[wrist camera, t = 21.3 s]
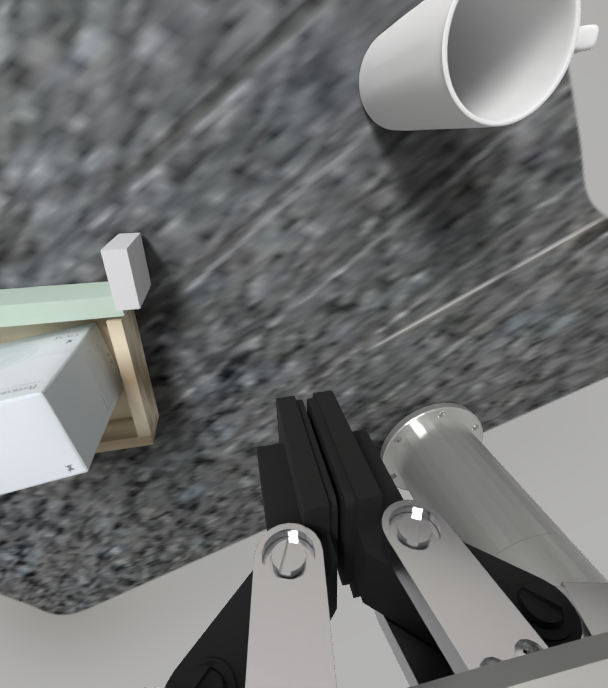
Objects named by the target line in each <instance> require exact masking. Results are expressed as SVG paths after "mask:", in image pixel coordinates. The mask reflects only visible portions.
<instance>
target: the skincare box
mask: <svg viewBox="0 0 608 688" xmlns="http://www.w3.org/2000/svg"><path fill="white" fill-rule="evenodd" d="M123 388H124V384H123V381H122V377H121V375H120V373H119V370H118V368H117V366H116V364H115V362H114V360H113V358H112V355H111V353H110V351H109V349H108V347H107V345H106V342H105V340H104V338H103V336H102V334H101V332H100V330H99V328H98V326H97V324H96V323H95V322H93V323H88V324H84V325H79V326H75V327H71V328H66V329H62V330H57V331H53V332H49V333H44V334H40V335H35V336H31V337H26V338H22V339H18V340H13V341H9V342H5V343H0V495H2V494H6V493H10V492H13V491H17V490H21V489H25V488H28V487H32V486H36V485H40V484H44V483H47V482H51V481H55V480H59V479H62V478H66V477H70V476H74V475H78V474H82V473H86V472H88V471H89V468H90V466H91V463H92V461H93V458H94V455H95V453H96V450H97V448H98V446H99V443H100V441H101V438H102V436H103V434H104V431H105V429H106V427H107V424H108V422H109V419H110V417H111V415H112V412H113V410H114V408H115V406H116V403H117V401H118V399H119V396H120V395H121V392H122V390H123Z"/></svg>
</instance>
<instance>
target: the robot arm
mask: <svg viewBox="0 0 608 688" xmlns="http://www.w3.org/2000/svg"><path fill="white" fill-rule="evenodd" d="M276 408H277V420H278V432H279V444H274V445H268V446H262V447H257V456H258V465H259V473H260V481H261V489H262V497H263V505H264V512H265V520H266V528H267V532H266V533H265V534H264V535H263V536H262V537H261V539H260V540H259V542H258V544H257V546H256V550H255V554H254V566H253V571H252V572H251V574H250V575H249V576H248V577H247V578H246V580H245V581H244V582H243V584H242V585H241V586H240V587H239V589H238V590H237V591H236V593H235V594H234V595H233V597H232V598H231V599H230V600H229V602H228V603H227V604H226V605H225V607H224V608H223V609H222V610H221V612H220V613H219V614H218V616H217V617H216V618H215V619H214V621H213V622H212V623H211V625H210V626H209V627H208V628H207V630H206V631H205V632H204V633H203V635H202V636H201V638H200V639H199V640H198V641H197V642H196V644H195V645H194V646H193V648H192V649H191V650H190V651H189V653H188V654H187V655H186V657H185V658H184V659H183V660H182V662H181V663H180V664H179V666H178V667H177V668H176V669H175V671H174V672H173V674H172V676H171V677H170V679H169V680H168V681H167V682H165V683H164V684H162V685H160V686H158V687H156V688H337V684H336V674H335V665H334V655H333V647H332V646H333V645H332V635H331V626H330V620H331V618H332V617H333V615H334V613H335V611H336V609H337V569H338V573H339V576H340V580H341V582H342V585H347V584H350V588H351V591H352V594H353V598H356V597H359V596H361V598H362V601H363V603H365V604H367V605H368V606H370V607H371V608H373V609H374V610H375V614H376V617H377V619H378V622H379V624H380V626H381V628H382V630H383V632H384V634H385V636H386V638H387V640H388V642H389V644H390V646H391V648H392V650H393V653H394V655H395V656H396V659H397V661H398V663H399V664H400V667H401V669H402V671H403V673H404V675H405V677H406V679H407V681H408V683H409V685H410V687H409V688H608V580H607V579H606V578H605V577H604V576H603V575H602V574H601V573H600V572H599V571H598V570H597V569H596V568H595V567H594V566H593V565H592V563H591V562H590V561H589V560H588V559H587V558H586V557H585V556H584V555H583V554H582V553H581V551H580V550H579V549H578V548H577V547H576V546H575V545H574V544H573V543H572V542H571V541H570V539H569V538H568V537H567V536H566V535H565V534H564V533H563V532H562V531H561V530H560V528H559V527H558V526H557V525H556V524H555V523H554V522H553V521H552V520H551V519H550V517H549V516H547V514H546V513H545V512H544V511H543V510H542V509H541V508H540V506H538V504H537V503H536V502H535V501H534V500H533V499H532V498H531V497H530V496H529V494H528V493H527V492H526V491H525V490H524V489H523V488H522V487H521V486H520V485H519V483H518V482H517V481H516V480H515V479H514V478H513V477H512V476H511V475H510V474H509V473H508V471H507V470H506V469H505V468H504V467H503V466H502V465H501V464H500V463H499V462H498V460H497V459H496V458H495V457H494V456H493V455H492V454H491V453H490V452H489V451H488V449H487V448H486V447H485V446H484V445H483V444H482V438H483V430H482V426H481V423H480V421H479V420H478V418H477V417H476V416H475V415H474V414H473V413H472V412H471V411H470V410H469V409H467V408H465V407H464V406H462V405H458V404H455V403H438V404H433V405H429V406H425V407H423V408H421V409H418V410H416V411H414V412H412V413H411V414H409V415H408V416H406V417H405V418H404V419H402V420H401V421H400V422H399V423H397V425H396V426H395V427H394V428H393V429H392V430H391V431H390V433H389V434H388V436H387V437H386V439H385V441H384V443H383V445H382V448H381V453H380V455H379V453H378V452H377V450H376V448H375V446H374V444H373V442H372V440H371V438H370V437H369V435H368V433H367V432H366V431H365V430H360V431H354V432H352V431H351V429H350V427H349V424H348V422H347V420H346V418H345V416H344V414H343V412H342V410H341V408H340V406H339V404H338V402H337V400H336V398H335V396H334V393H333V392H332V391H324V392H317V393H313V398H310V399H307V412H306V409H305V406H304V403H303V400H296V398H295V396H290V397H283V398H276ZM397 487H398V488H401V489H404V490H409V492H410V493H411V495H412V497H413V499H414V500H403V498H402V496H401V494H400V493H399V491H398V489H397Z"/></svg>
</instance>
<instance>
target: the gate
mask: <svg viewBox="0 0 608 688" xmlns="http://www.w3.org/2000/svg"><path fill="white" fill-rule="evenodd" d="M101 254H102V258H103V262H104V266H105V270H106V273H107V277H108V281H109V282H95V283H82V284H68V285H55V286H41V287H28V288H15V289H1V290H0V327H9V326H20V325H31V324H42V323H53V322H64V321H76V320H87V319H98V318H109V317H120V316H125V314H126V312H127V310H132V309H140V308H141V306H142V304H143V301H144V299H145V297H146V295H147V293H148V291H149V288H150V286H151V281H150V276H149V272H148V267H147V262H146V257H145V252H144V248H143V243H142V238H141V233H125V234H118V235H117V236H116V237H115V238H114V239H113V240H111V241H110V242H109V243H108V244H107V245H106V246H105V247H104V248H103V249H101Z"/></svg>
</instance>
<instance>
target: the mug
mask: <svg viewBox="0 0 608 688" xmlns="http://www.w3.org/2000/svg"><path fill="white" fill-rule="evenodd" d="M580 18H581V5H580V0H424V1H423V2H421V3H420V4H419V5H418V6H416V7H415V8H414V9H412V10H411V11H410V12H408V13H407V14H406V15H404V16H403V17H402V18H400V19H399V20H398V21H397V22H395V23H394V24H393V25H392V26H391V27H389V28H388V29H387V30H386V31H384V32H383V33H382V34H381V35H379V36H378V37H377V38H376V39H375V40H374V42H373V43H372V44H371V46H370V47H369V49H368V50H367V52H366V54H365V56H364V59H363V62H362V65H361V69H360V75H359V91H360V97H361V101H362V104H363V106H364V109H365V111H366V112H367V114H368V115H369V117H370V118H371V119H372V120H373V121H374V122H375V123H376V124H378V125H379V126H381V127H383V128H385V129H389V130H400V131H410V130H432V129H462V128H484V127H493V126H505V125H509V124H512V123H515V122H517V121H519V120H522V119H523V118H525V117H527V116H528V115H530V114H531V113H533V112H534V111H535V110H536V109H538V108H539V107H540V106H541V105H542V104H543V103H544V102H545V101H546V100H547V99H548V98H549V96H550V95H551V94H552V93H553V91H554V90H555V89H556V87H557V86H558V84H559V83H560V81H561V79H562V78H563V76H564V74H565V72H566V70H567V68H568V66H569V63H570V61H571V58H572V56H573V54H575V53H577V52H581V51H585V50H589V49H591V48H593V46H594V45H595V43H596V41H597V37H598V30H599V29H598V26H597V25H585V26H580Z"/></svg>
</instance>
